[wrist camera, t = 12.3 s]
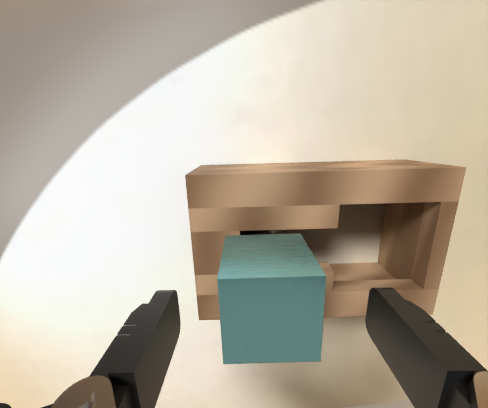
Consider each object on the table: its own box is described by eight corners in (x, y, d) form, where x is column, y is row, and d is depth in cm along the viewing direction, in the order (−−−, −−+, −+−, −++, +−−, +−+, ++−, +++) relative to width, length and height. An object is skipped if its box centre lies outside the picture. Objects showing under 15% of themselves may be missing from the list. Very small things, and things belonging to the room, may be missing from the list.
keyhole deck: (405, 159, 18) (466, 167, 13) (387, 272, 21) (432, 314, 16) (201, 165, 18) (185, 175, 13) (209, 276, 21) (199, 320, 16)
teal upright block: (282, 197, 19) (332, 270, 8) (282, 246, 20) (324, 364, 10) (229, 199, 19) (211, 274, 8) (231, 248, 20) (218, 367, 10)
